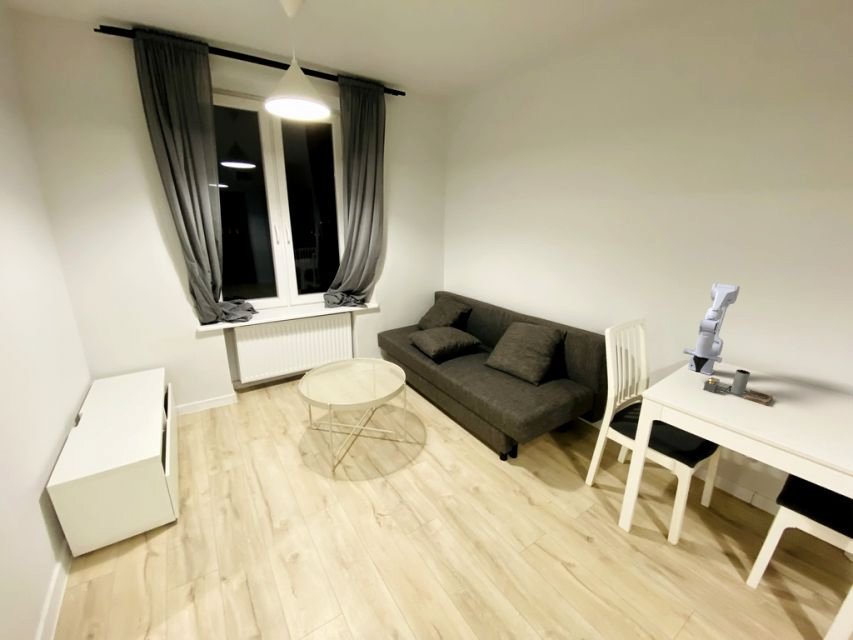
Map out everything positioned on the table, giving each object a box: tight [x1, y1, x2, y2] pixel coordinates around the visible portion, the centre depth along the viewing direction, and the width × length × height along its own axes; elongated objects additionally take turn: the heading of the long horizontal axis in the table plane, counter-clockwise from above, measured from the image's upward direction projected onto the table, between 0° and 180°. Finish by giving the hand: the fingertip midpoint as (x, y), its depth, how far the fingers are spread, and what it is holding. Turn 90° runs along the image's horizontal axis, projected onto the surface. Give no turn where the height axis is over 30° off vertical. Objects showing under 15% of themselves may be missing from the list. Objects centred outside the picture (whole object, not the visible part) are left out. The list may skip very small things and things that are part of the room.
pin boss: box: [703, 380, 718, 394], centre depth 158 cm, size 4×5×4 cm
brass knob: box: [707, 377, 717, 385], centre depth 158 cm, size 3×3×5 cm
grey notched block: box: [711, 377, 731, 391], centre depth 161 cm, size 7×4×3 cm, turn 37°
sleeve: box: [716, 381, 750, 399], centre depth 159 cm, size 14×8×1 cm, turn 37°
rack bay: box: [743, 389, 774, 407], centre depth 151 cm, size 7×8×2 cm
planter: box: [730, 369, 751, 396], centre depth 155 cm, size 4×4×10 cm
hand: (697, 371), depth 167 cm, fingers closed
